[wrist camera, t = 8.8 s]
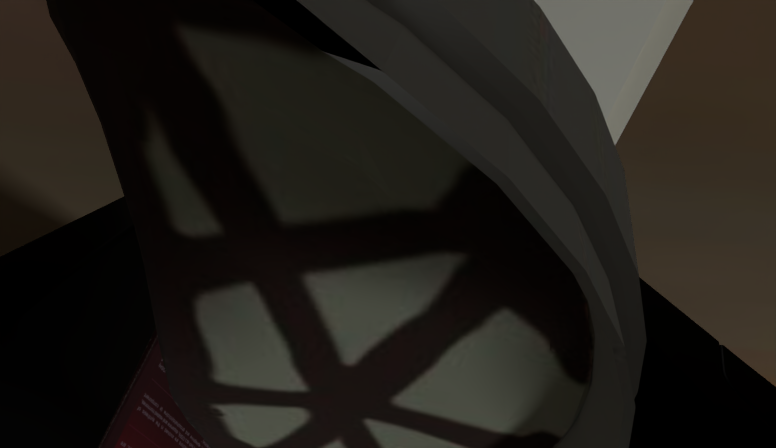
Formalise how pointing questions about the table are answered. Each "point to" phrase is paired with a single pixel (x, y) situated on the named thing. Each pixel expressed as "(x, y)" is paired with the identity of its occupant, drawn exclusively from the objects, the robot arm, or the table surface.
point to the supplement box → (150, 410)
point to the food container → (371, 220)
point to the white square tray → (616, 46)
